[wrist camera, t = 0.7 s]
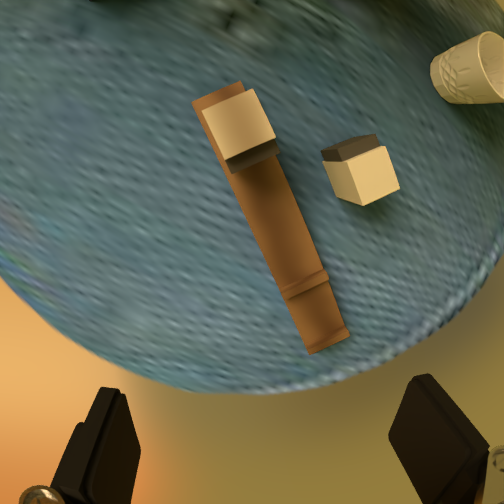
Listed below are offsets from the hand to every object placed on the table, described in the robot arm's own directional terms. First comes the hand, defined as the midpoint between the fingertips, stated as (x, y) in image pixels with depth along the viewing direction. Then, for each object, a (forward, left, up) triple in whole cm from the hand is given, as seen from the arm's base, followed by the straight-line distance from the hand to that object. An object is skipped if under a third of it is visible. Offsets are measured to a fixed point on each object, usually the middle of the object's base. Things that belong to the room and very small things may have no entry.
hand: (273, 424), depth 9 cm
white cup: (-32, -8, -25) cm, 42 cm away
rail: (-4, 0, -25) cm, 25 cm away
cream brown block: (-13, -2, -25) cm, 28 cm away
